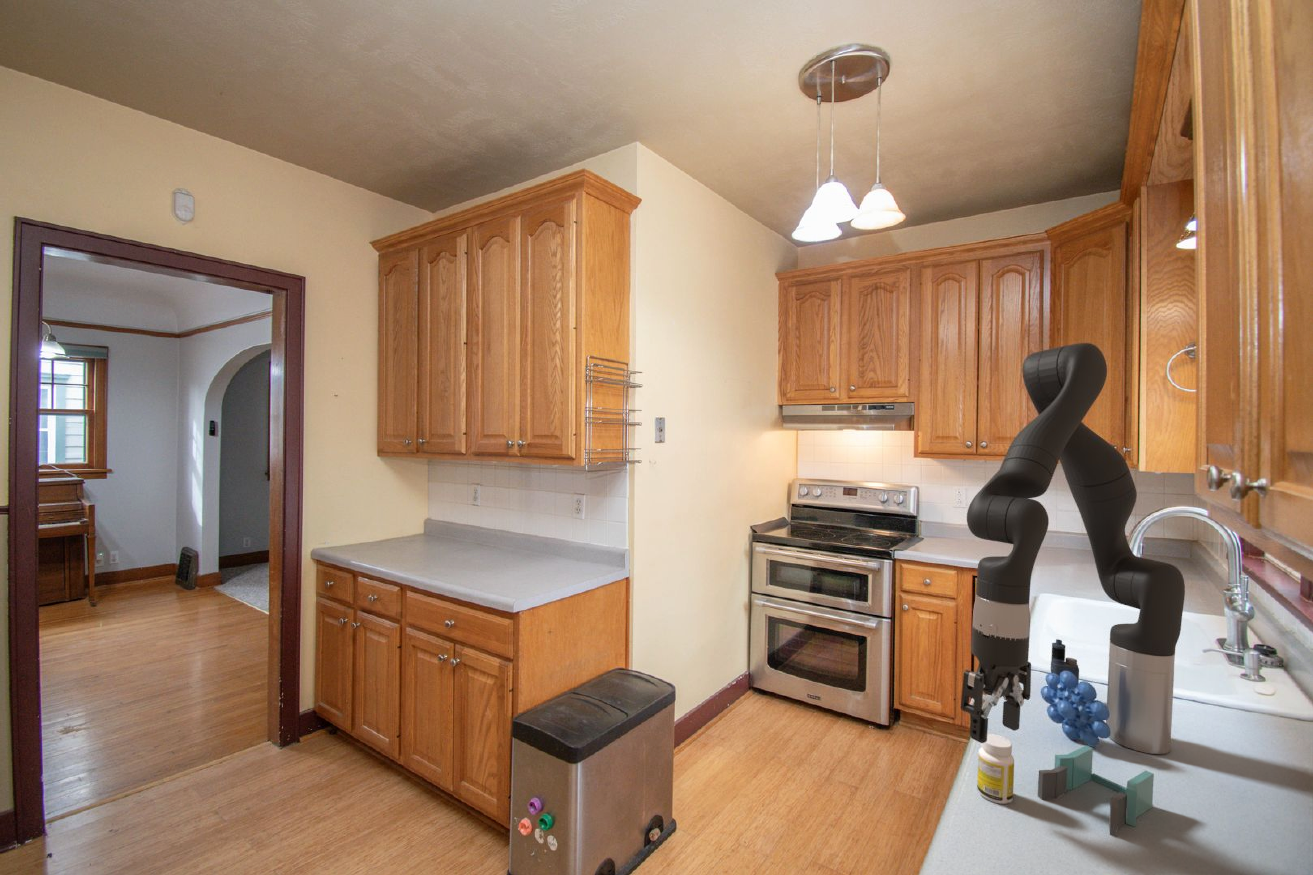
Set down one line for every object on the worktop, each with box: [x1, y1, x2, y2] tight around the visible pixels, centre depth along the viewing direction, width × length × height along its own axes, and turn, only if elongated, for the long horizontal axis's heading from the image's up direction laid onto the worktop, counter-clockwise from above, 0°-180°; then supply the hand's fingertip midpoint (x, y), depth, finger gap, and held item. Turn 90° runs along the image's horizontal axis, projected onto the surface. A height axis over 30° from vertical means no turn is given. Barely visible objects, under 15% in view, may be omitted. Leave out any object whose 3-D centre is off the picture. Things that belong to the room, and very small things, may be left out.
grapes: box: [1040, 671, 1111, 747], centre depth 109 cm, size 12×7×12 cm, turn 28°
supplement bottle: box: [976, 733, 1015, 805], centre depth 91 cm, size 5×5×8 cm
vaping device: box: [1050, 638, 1080, 683], centre depth 127 cm, size 3×5×12 cm, turn 82°
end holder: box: [1054, 745, 1155, 827], centre depth 92 cm, size 9×11×5 cm
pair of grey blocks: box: [1037, 765, 1127, 838], centre depth 88 cm, size 5×10×4 cm, turn 31°
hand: (994, 733), depth 92 cm, fingers open, 8 cm apart
